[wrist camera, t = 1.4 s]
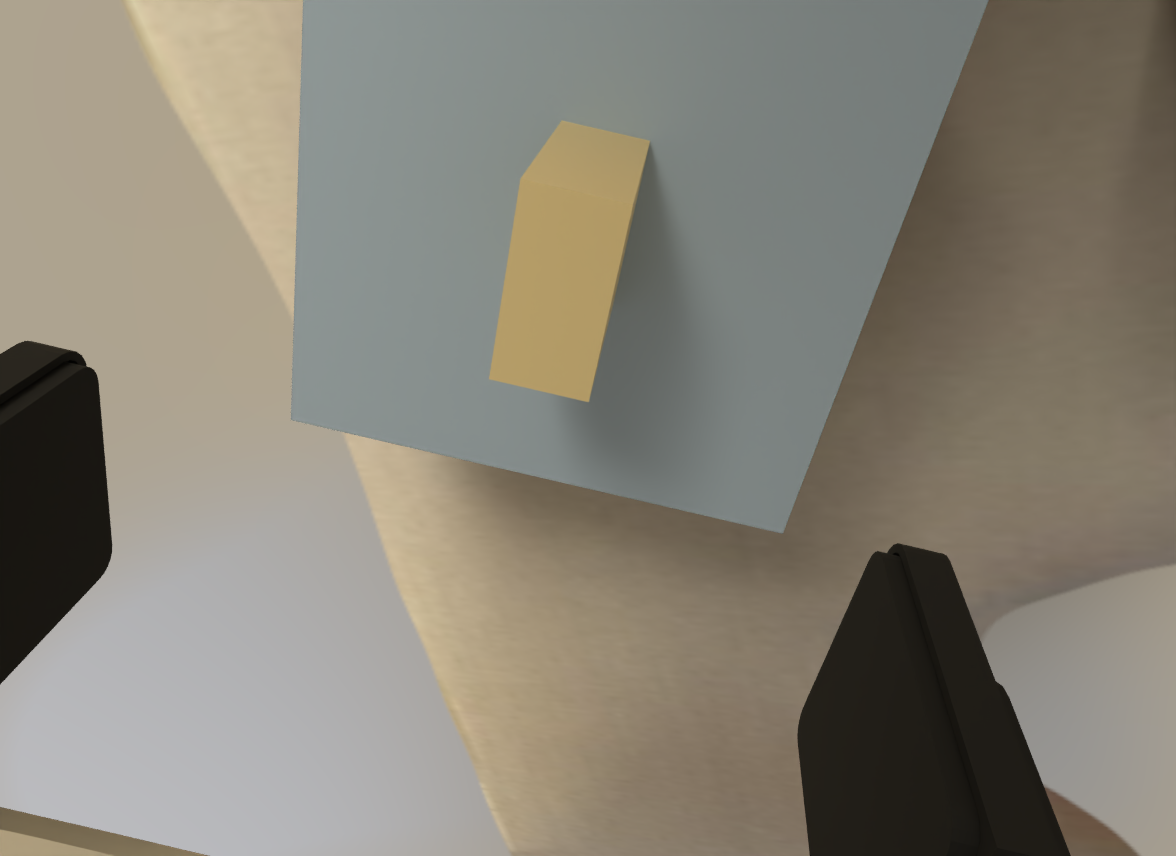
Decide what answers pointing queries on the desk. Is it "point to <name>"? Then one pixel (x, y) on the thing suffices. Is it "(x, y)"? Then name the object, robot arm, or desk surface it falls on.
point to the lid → (607, 228)
